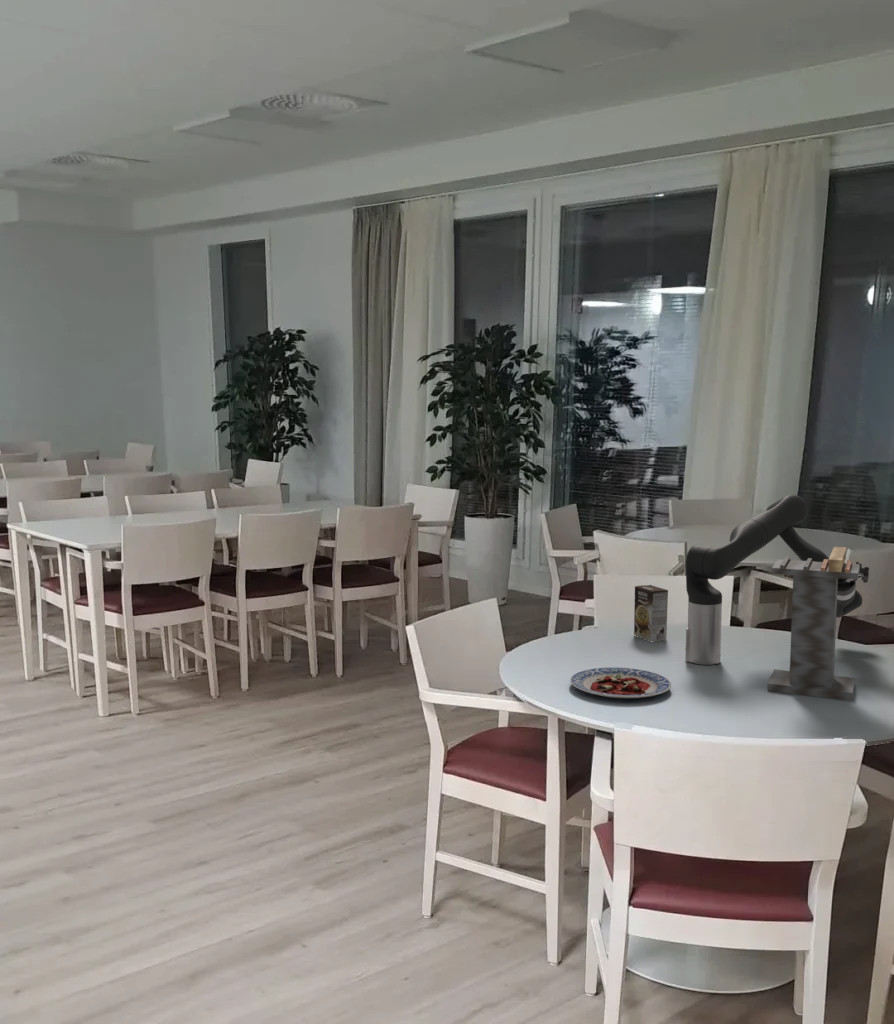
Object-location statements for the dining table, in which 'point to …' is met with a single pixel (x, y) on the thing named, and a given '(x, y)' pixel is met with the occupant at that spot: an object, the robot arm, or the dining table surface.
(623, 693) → the ceramic plate
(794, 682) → the grey pedestal stand
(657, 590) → the printed cardboard box
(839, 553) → the oak bar
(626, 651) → the dining table surface
